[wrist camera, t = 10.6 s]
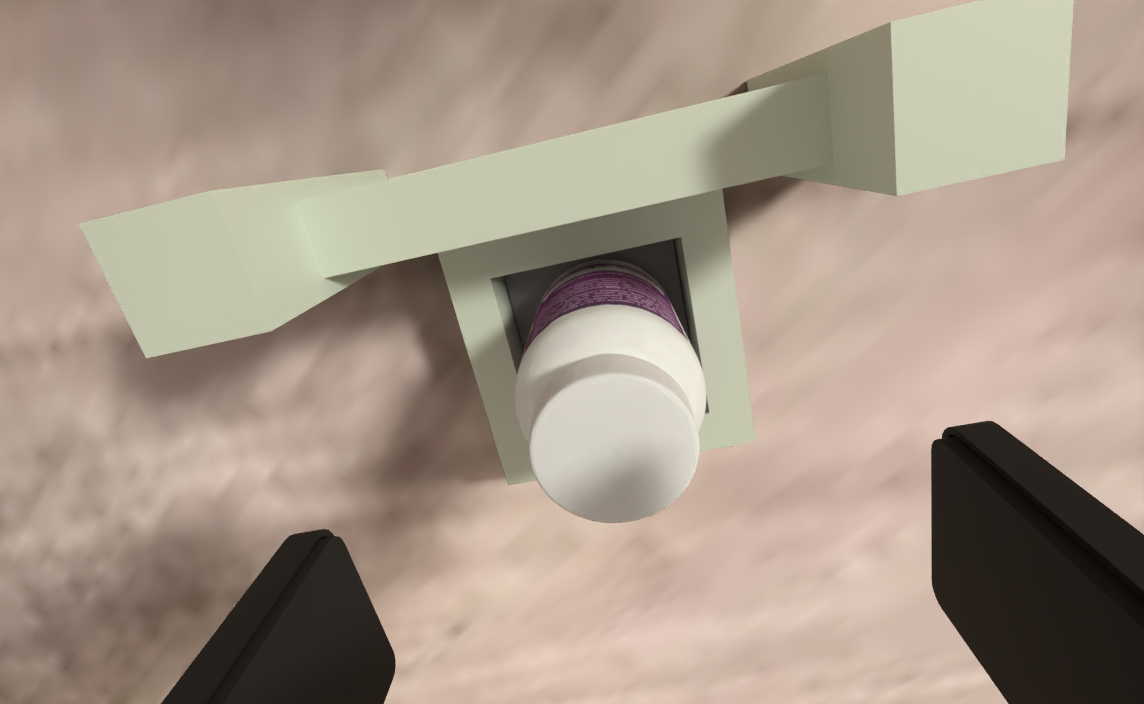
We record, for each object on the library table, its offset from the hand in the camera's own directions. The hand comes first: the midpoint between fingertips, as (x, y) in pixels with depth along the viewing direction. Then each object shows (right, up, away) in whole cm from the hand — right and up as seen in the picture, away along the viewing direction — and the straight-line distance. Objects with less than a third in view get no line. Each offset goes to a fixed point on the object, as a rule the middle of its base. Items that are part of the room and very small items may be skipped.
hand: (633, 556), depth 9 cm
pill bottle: (0, +4, +13) cm, 14 cm away
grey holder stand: (0, +6, +13) cm, 14 cm away
